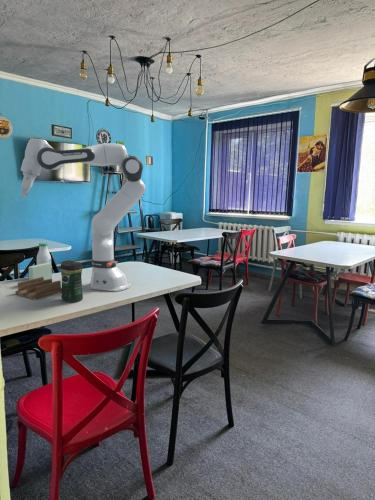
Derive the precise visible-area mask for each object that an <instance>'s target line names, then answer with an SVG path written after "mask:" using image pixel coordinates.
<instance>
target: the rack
mask: <svg viewBox="0 0 375 500" xmlns="http://www.w3.org/2000/svg"><path fill="white" fill-rule="evenodd" d="M59 293H62V280H56V281H53V278H52V279H47V280H44V277H40V278H36V279H32V280H29V279H28V280H23V281H20V282H17V290H15V293H14V294H15V295H18V296H20V297H24V298H25V297H26V298H30V299H33V300H35V301H36V300H40V299H43V298H47V297H50V296H52V295H55V294H56V295H57V294H59Z"/></svg>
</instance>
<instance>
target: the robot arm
mask: <svg viewBox="0 0 375 500" xmlns="http://www.w3.org/2000/svg"><path fill="white" fill-rule="evenodd" d="M78 163H79V164H87V165H90V166H93V167H107V166H108V167H109V166H118V167H119V168H120V170H121V173H122V175H123V176H124V178H125V180H126V182H125V183H124V184H123V185H122V187H121V188H120V189H119V190H118V191H117V192H116V193H115V194H114V195H113V196H112V197H111V198H110V199H109V200H108V202H106V204H105V205H104V206H103V207H102V208H101V209H100V210H99V211H98V213H96V214H94V216H93V218H92V220H91V228H92V235H91V236H92V239H91V240H92V242H91V243H92V247H91V249H92V254H91V255H92V259H91V267H92V269H91V278H90V279H91V280H90V284H89V286H90V288H89V289H92V290H93V289H94V290H99V291H105V292H106V291H109V292H120V291H123V290H127V289H129V288H131V287H132V284H131V283H129V282H128V280H127V276H126V275H125V273H124V272H123V271H122V270H120V268H119V267H117V264H118V262H119V261H116V260H115V258H114V257H115V256H114V229H115V228H116V227H117V225H118V224H119V223H120V222H121V221H122V220H123V219H124V217H125V216H126V215H127V214H128V212H130V211H131V210H132V208H133V207H134V206H135V205H136V204H137V203H138V201H140V199H141V198H142V197H143V195H144V194H145V191H146V189H147V188H146V185H145V183H144V181H142V179H141V178H142V176H143V171H144V165H143V162H142V160H140V158H139V157H138V156H137V157H136V156H132V155H131V156H129V154H128V150H127V148H126V146H125V145H124V144H121V143H108V142H107V143H99V144H93V145H90V146H86V147H83V148H78V149H77V148H75V149H64V150H63V149H62V150H61V149H57V148H56V149H55V148H53V147H52V146H51V145H50V144H49V142H47V140H45V139H43V138H39V137H31V138H30V139H29V140H28V142H27V143H26V147H25V150H24V158H23V160H22V164H21V166H20V171H21V172H22V175H23V179H22V183H21V187H20V188H21V189H22V192H21V198H23V199H26V197H28V194H29V191H30V189H31V188H32V187H33V186H34V182H35V179H37V177H40V176H41V172H42V168H43V169H45V170H53V171H54V170H55V171H56V170H60V169H61V168H62V167H63V165H66V164H78Z"/></svg>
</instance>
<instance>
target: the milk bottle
mask: <svg viewBox="0 0 375 500" xmlns="http://www.w3.org/2000/svg"><path fill="white" fill-rule="evenodd" d="M48 246H49V245H48V243H47V242H39V243H38V247H39V249H38V251H37V255H36V265H39V264H44V263H51V264H52V257H51V254H50V252H49V249H48ZM51 269H52V267H51Z"/></svg>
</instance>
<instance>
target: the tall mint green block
mask: <svg viewBox="0 0 375 500" xmlns="http://www.w3.org/2000/svg"><path fill="white" fill-rule="evenodd" d="M51 268H52V262H51V263H44V264H39V265H37V264H35V265H31V266H28V278H29V279H28V280H32V279H36V278H40V277H44V280H47V279H52V280H53V275H52V274H53V272H52V271H53V270H52V269H51Z"/></svg>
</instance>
